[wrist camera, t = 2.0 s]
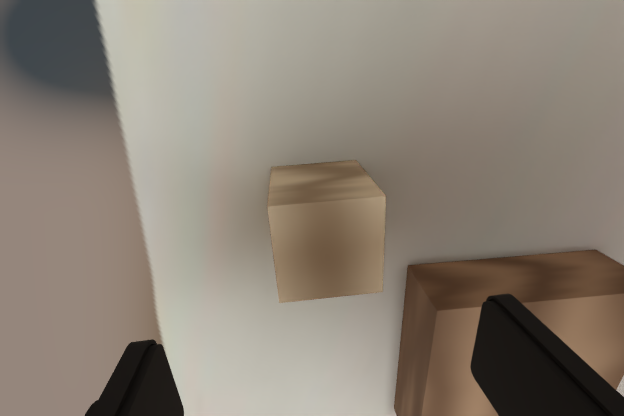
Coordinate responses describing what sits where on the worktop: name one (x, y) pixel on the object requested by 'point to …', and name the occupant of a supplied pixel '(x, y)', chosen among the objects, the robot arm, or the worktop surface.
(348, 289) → the maple block
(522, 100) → the worktop surface
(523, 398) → the robot arm
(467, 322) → the brown wooden flat block
